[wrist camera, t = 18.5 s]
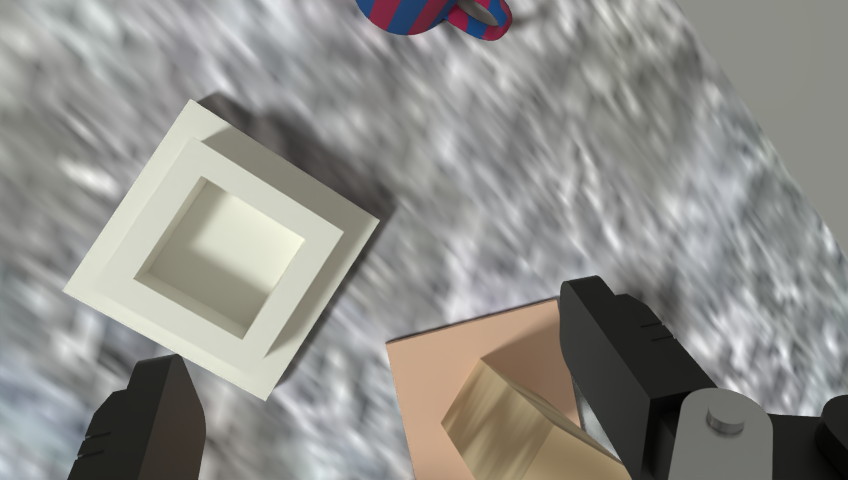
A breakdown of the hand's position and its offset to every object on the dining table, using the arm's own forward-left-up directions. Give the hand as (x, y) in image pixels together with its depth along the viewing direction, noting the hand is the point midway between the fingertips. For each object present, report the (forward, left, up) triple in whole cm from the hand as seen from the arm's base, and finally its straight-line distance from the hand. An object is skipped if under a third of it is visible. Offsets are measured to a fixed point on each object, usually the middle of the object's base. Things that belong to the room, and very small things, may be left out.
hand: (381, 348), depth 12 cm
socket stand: (-6, +1, -26) cm, 26 cm away
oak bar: (+8, -13, -25) cm, 29 cm away
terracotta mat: (+8, -13, -26) cm, 30 cm away
